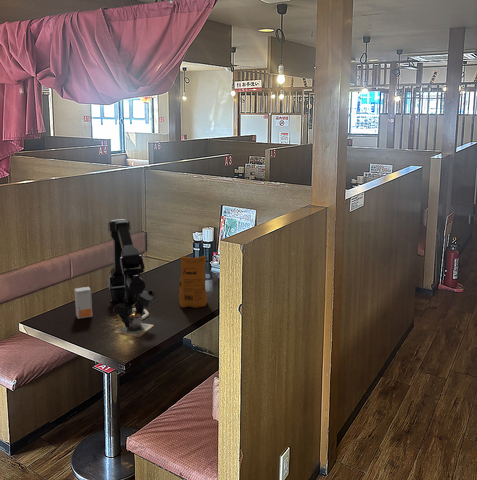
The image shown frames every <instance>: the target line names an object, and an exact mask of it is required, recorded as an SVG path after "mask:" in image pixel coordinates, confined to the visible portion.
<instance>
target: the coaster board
mask: <svg viewBox="0 0 477 480" xmlns="http://www.w3.org/2000/svg"><path fill="white" fill-rule="evenodd" d="M141 325H142V327H143V329H142V330H141V329H140V330H138V331H128V330H127V327H125V324H123V325H122V326H121V327H119V328H118V329H116V330H115V331H113V333H114V334H119V335H124V336H129V337H136V338H141V337H142V336H143V335H145V334H146V333H147V332H148V331H149V330H151V329H152V328H153V327H154V325H155V324H149V323H143V322H141ZM145 332H146V333H145Z"/></svg>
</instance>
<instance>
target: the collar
mask: <svg viewBox="0 0 477 480" xmlns="http://www.w3.org/2000/svg"><path fill="white" fill-rule="evenodd" d="M132 312H137V311H136V308H135V307H134V308H133V310H132ZM149 315H150V313H149V311H148V310H147V309H145V308H144V311H143V314H142V318H141V321H142V320H144V319H146V318H148V316H149Z"/></svg>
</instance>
